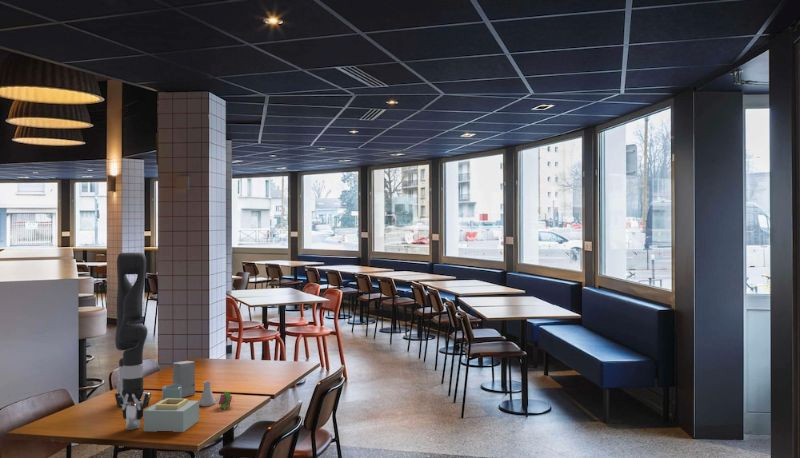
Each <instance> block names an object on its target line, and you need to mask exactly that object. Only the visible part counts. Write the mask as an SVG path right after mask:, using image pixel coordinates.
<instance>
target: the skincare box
mask: <svg viewBox="0 0 800 458" xmlns="http://www.w3.org/2000/svg"><path fill="white" fill-rule="evenodd" d="M195 365H196V362H195V361H192V360H191V361H190V360H184V361H177V362H173V363H172V385H181V399H184V398H186V397H190V396H195V395H196V366H195Z"/></svg>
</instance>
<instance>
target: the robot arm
mask: <svg viewBox="0 0 800 458" xmlns="http://www.w3.org/2000/svg"><path fill="white" fill-rule="evenodd" d="M146 269H147V257H146V255H145V253H144V252H120V253H118V255H117V259H116V274H117V275H116V276H117V294H116V328H115V329H116V331H115V337H114V339H115V348H116V350H118V351H123V352H122V357H121V358H120V359H119V362H118V382H116V393H115V394H114V398H115V401H116V406H117V408H118V409H121V410H122V418H123V420H126V405H127V404H130V403H131V402H135V405H137V408H138V410H137V419H138V420H140V421H141V419H142V418H144V410H145V409H147V408H149V404H150V401H151V400H150V399H151V394H152V393H151V392H150V391H149V392H146V391H145V390H144V364H143V363H144V362H143V360H144V359H143V355H144V353H143V352H144V347H145V343H146V340H147V336H148V327H147V326H146V325H144V324H140V323H139V324H132V323H136V322H138V321H140V320H142V318H143V295H144V289H145V281H146V271H147V270H146ZM127 275H129V276H130V275H137V276H136V280H135V281H134V283H133V284H132V283H131V282H130V281H129V279H128V276H127ZM142 397H143V398H142Z"/></svg>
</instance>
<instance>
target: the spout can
mask: <svg viewBox="0 0 800 458" xmlns="http://www.w3.org/2000/svg"><path fill="white" fill-rule="evenodd" d="M137 410H138V408H137V405H135V402H131V403H130V404H127V405H126V419H125V429H126V430H130V431H131V430H132V431H133V430H136V429H139V428H140V427H141V419H140V420H138V419H137Z"/></svg>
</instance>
